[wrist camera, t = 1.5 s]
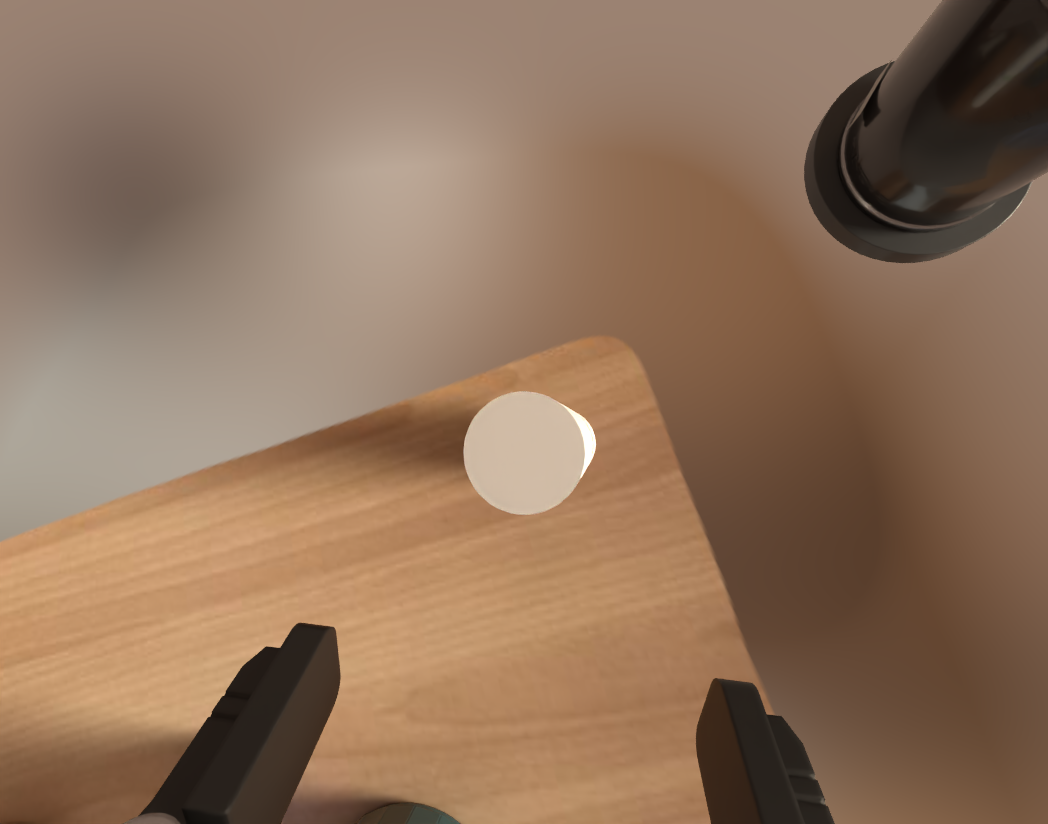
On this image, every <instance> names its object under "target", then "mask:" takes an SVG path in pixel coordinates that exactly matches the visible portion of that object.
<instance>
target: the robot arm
mask: <svg viewBox="0 0 1048 824" xmlns="http://www.w3.org/2000/svg"><path fill="white" fill-rule="evenodd" d="M890 62H891V61H890ZM890 62H889V64H890ZM889 64H888V65H887V66H886V68H885V69H884V70H883V72H882V73H881V74H880V76H879V77H878V78H877V80H876V82H875V83H874V85H873V87H872V89H871V90H870V92H869V94H868V95H867V96H866V97H865V98H864V99H863V101H862V102H861V103H860V104H859V105H858V107H857V108H856V109H855V111H854V112H853V113H852V115H851V116H850V118H849V119H848V121H847V123H846V125H845V126H844V129H843V131H842V133H841V137H840V140H839V144H838V150H837V167H838V173H839V177H840V180H841V183H842V186H843V188H844V190H845V192H846V194H847V195H848V197H849V198H850V200H851V201H852V202H853V204H854V205H855V206H856V207H857V208H858V209H859V210H860V211H861V212H863V213H864V214H865V215H866V216H868V217H869V218H871V219H872V220H874V221H876V222H878V223H879V224H882V225H884V226H886V227H889V228H892V229H896V230H900V231H906V232H917V233H924V232H935V231H941V230H945V229H949V228H952V227H955V226H957V225H960V224H962V223H964V222H966V221H968V220H970V219H972V218H974V217H975V216H977V215H979V214H980V213H982V212H984V211H985V210H987V209H988V208H989V207H991V206H992V205H993V204H995V203H996V202H997V201H999V200H1001V199H1002V198H1004V197H1006V196H1007V195H1009V194H1011V193H1012V192H1014V191H1016V190H1018V189H1019V188H1021V187H1023V186H1025V185H1026V184H1028V183H1030V182H1032V181H1033V180H1035V179H1037V178H1038V177H1040V176H1042V175H1043V174H1045V173H1047V172H1048V0H942V2H941V3H940V4H939V5H938V7H937V8H936V9H935V11H934V12H933V13H932V15H931V16H930V17H929V18H928V20H927V21H926V22H925V23H924V25H923V26H922V27H921V29H920V30H919V31H918V33H917V34H916V35H915V36H914V38H913V39H912V40H911V42H910V43H909V44H908V45H907V47H906V48H905V49H904V51H903V52H902V53H901V54H900V56H899V57H898V58H897V60H896V61H895V62H894V63H893V65H892V66H891V67H890V68H889V70H888V71H887V72H886V73H885V71H886V69H887V67H888V66H889ZM884 73H885V75H884V76H883V74H884ZM882 76H883V77H882ZM881 78H882V79H881ZM880 79H881V80H880ZM339 685H340V665H339V656H338V646H337V637H336V630H335V628H334V627H329V626H322V625H314V624H306V623H298V624H296V625H295V626H294V627H293V629H292V630H291V632H290V633H289V635H288V636H287V638H286V640H285V641H284V643H283V644H282V646H281V648H275V647H267V646H266V647H265V648H264V649H263V650H261V651H260V652H259V653H258V654H257V655H255V656H254V657H253V658H252V659H251V660H249V661H248V662H247V663H246V664H245V665H244V666H242V668H241V669H240V671H239V672H238V674H237V675H236V677H235V678H234V680H233V681H232V683H231V684H230V686H229V687H228V689H227V690H226V694H225V696H222V698H221V699H220V700H219V702H218V703H217V705H216V706H215V708H214V709H213V711H212V714H211V716H210V717H208V718H207V720H206V721H205V723H204V724H203V726H202V727H201V729H200V730H199V732H198V733H197V735H196V736H195V738H194V739H193V741H192V742H191V744H190V745H189V747H188V748H187V749H186V751H185V752H184V754H183V755H182V757H181V758H180V760H179V761H178V763H177V764H176V766H175V767H174V769H173V770H172V772H171V773H170V775H169V776H168V778H167V779H166V781H165V782H164V784H163V785H162V787H161V788H160V790H159V791H158V793H157V794H156V795H155V797H154V798H153V800H152V801H151V802H150V804H149V805H148V806H147V807H146V808H145V809H144V810H143V812H142V813H141V814H140V815H139V816H138V817H135V818H133V819H131V820H129V821H127V822H125V823H123V824H281V822H282V819H283V817H284V815H285V813H286V811H287V808H288V806H289V804H290V802H291V800H292V797H293V795H294V793H295V791H296V788H297V786H298V784H299V782H300V780H301V777H302V775H303V773H304V771H305V769H306V766H307V764H308V762H309V760H310V758H311V755H312V753H313V751H314V749H315V746H316V744H317V742H318V740H319V738H320V735H321V733H322V731H323V729H324V727H325V724H326V722H327V720H328V718H329V716H330V713H331V711H332V709H333V707H334V704H335V701H336V698H337V695H338V691H339ZM696 749H697V757H698V763H699V768H700V772H701V777H702V782H703V787H704V791H705V796H706V801H707V806H708V811H709V815H710V820H711V824H835V823H834V821H833V818H832V816H831V813H830V811H829V808H828V806H826V805H825V799H824V796H823V793H822V791H821V788H820V786H819V783H818V781H817V780H815V774H814V771H813V769H812V766H811V763H810V761H809V758H808V756H807V753H806V751H805V748H804V746H803V743H802V742H801V741H800V740H799V738H798V737H797V736H796V734H795V733H794V732H793V730H792V729H791V728H790V726H789V725H788V724H787V723H786V721H785V720H784V719H783V718H782V717H781V716H774V715H767V714H766V712H765V709H764V706H763V703H762V701H761V698H760V695H759V692H758V690H757V688H756V687H755V685H754V684H753V683H748V682H741V681H733V680H725V679H718V678H715V679H714V680H713V681H712V683H711V686H710V689H709V692H708V695H707V698H706V701H705V704H704V707H703V710H702V713H701V716H700V719H699V722H698V725H697V732H696Z"/></svg>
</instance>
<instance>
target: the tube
mask: <svg viewBox="0 0 1048 824" xmlns="http://www.w3.org/2000/svg"><path fill="white" fill-rule="evenodd" d="M595 446H596V442H595V435H594V432H593V429H592V428H591V426H590V424H589V423H588V422H587V421H586V419H585V418H583V417H582V416H581V415H579V414H578V413H576V412H574V411H573V410H571V409H569V408H568V407H566V406H564V405H563V404H561V403H559V402H558V401H556V400H554V399H552V398H550V397H548V396H546V395H543V394H539V393H536V392H526V391H521V392H512V393H508V394H505V395H502V396H499V397H498V398H496V399H494V400H492V401H491V402H489V403H488V404H487V405H485V406H484V407H483V408H482V409H481V410H480V411H479V412H478V414H477V415H476V416H475V417H474V419H473V420H472V422H471V424H470V426H469V428H468V431H467V434H466V437H465V442H464V451H463V453H464V465H465V468H466V471H467V475H468V477H469V479H470V481H471V483H472V485H473V487H474V488H475V489H476V491H477V492H478V493H479V494H480V496H481V497H482V498H484V499H485V500H486V501H487V502H488V503H489V504H491V505H493V506H494V507H496V508H498V509H500V510H503V511H506V512H508V513H512V514H520V515H528V514H537V513H540V512H544V511H547V510H549V509H551V508H553V507H555V506H557V505H558V504H560V503H561V502H562V501H563V500H564V499H566V498H567V497H568V496H569V495H570V493H571V492H572V491H573V490H574V488H575V487H576V485H577V483H578V482H579V480H580V478H581V477H582V475H583V473H584V472H585V470H586V469H587V467H588V465H589V463H590V462H591V460H592V458H593V456H594V452H595Z"/></svg>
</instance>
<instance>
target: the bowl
mask: <svg viewBox="0 0 1048 824" xmlns="http://www.w3.org/2000/svg"><path fill="white" fill-rule="evenodd" d="M355 824H460V823H459V822H458V821H457V820H455V819H454V818H453V817H451V816H449V815H448V814H446V813H444V812H442V811H440V810H438V809H436V808H433V807H430V806H427V805H423V804H417V803H397V804H391V805H388V806H384V807H382V808H379V809H377V810H375V811H372V812H370V813H367V814H365V815H364V816H363V817H361V818H360V819H359V820H358V821H357V822H356V823H355Z"/></svg>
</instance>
